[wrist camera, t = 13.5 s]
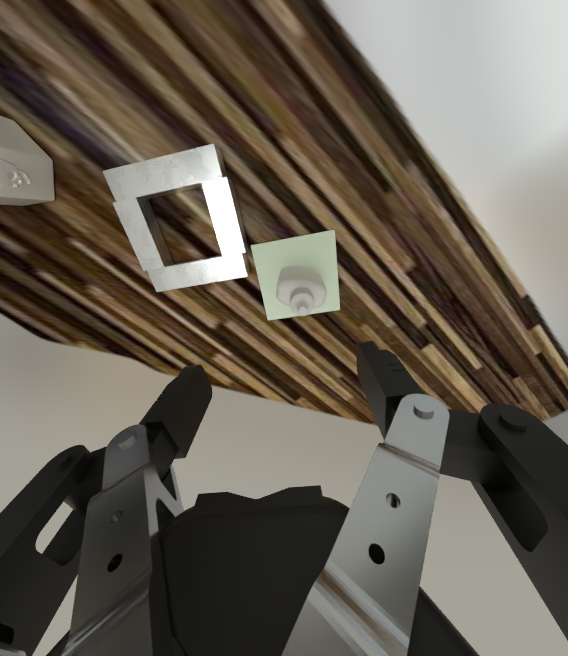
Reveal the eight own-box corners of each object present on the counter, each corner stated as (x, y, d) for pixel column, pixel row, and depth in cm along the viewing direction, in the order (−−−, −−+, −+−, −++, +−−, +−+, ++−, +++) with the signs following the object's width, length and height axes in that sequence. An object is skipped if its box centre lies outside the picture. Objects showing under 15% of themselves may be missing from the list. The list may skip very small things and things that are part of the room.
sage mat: (251, 245, 29) (250, 245, 29) (333, 229, 28) (334, 229, 28) (268, 318, 34) (267, 320, 34) (339, 308, 33) (340, 309, 32)
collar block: (114, 176, 26) (98, 172, 24) (225, 149, 25) (218, 142, 23) (163, 287, 32) (153, 292, 30) (253, 271, 31) (250, 275, 29)
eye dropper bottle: (305, 301, 32) (311, 343, 21) (274, 278, 31) (263, 310, 20) (324, 277, 30) (342, 310, 20) (293, 252, 29) (293, 272, 18)
